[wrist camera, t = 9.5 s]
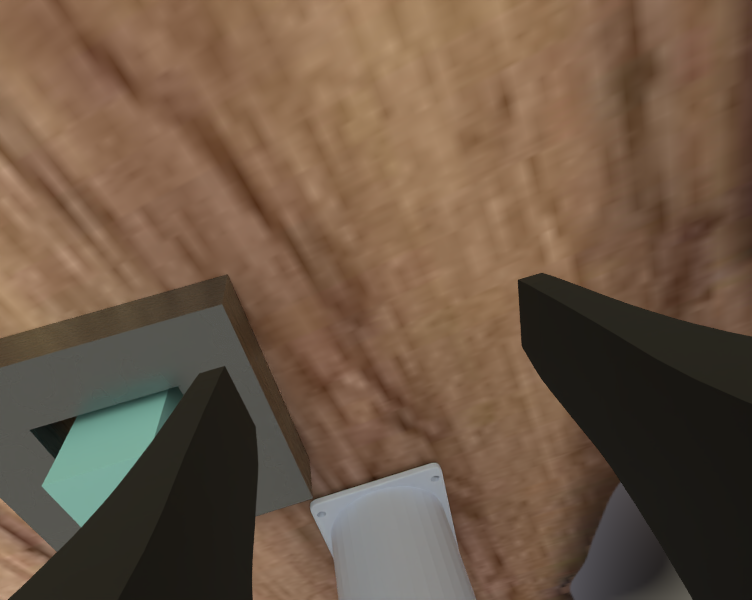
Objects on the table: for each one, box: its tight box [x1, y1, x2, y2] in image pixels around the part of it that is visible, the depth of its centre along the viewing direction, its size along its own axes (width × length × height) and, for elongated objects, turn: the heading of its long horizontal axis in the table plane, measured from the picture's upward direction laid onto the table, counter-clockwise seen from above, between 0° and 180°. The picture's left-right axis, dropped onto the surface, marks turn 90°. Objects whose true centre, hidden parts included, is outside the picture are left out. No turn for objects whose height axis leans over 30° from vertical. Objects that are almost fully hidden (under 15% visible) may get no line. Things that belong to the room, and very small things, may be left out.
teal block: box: [42, 386, 183, 527], centre depth 20 cm, size 4×4×5 cm
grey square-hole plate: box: [0, 275, 313, 552], centre depth 21 cm, size 12×12×2 cm
